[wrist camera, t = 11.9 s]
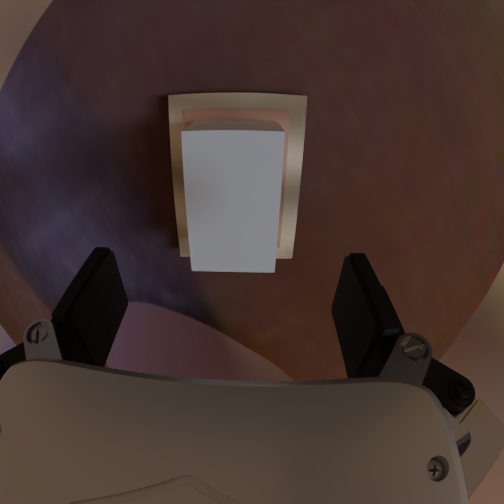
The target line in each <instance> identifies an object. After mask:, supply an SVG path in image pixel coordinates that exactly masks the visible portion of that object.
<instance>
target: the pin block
mask: <svg viewBox="0 0 504 504" xmlns="http://www.w3.org/2000/svg"><path fill="white" fill-rule="evenodd" d="M168 101H169V129H170V148H171V164H172V177H173V189H174V201H175V211H176V221H177V230H178V239H179V247H180V255H181V256H183V257H190V248H189V238H188V227H187V216H186V203H185V190H184V175H183V157H182V136H181V131H182V130H184V129H185V128H186V127H188V126H189V125H190V124H192V123H193V122H195V121H271V122H278V123H279V124H280V125H281V127H282V128H283V130H284V131H285V141H284V157H283V172H282V186H281V200H280V213H279V226H278V238H277V250H276V258H287V259H292V254H293V246H294V238H295V229H296V220H297V210H298V201H299V191H300V181H301V170H302V159H303V147H304V135H305V121H306V107H307V96H304V95H292V94H277V93H254V92H213V93H190V94H175V95H168Z"/></svg>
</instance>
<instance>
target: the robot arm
mask: <svg viewBox="0 0 504 504" xmlns="http://www.w3.org/2000/svg"><path fill="white" fill-rule="evenodd" d="M127 306H128V299H127V295H126V292H125V289H124V286H123V283H122V279H121V276H120V273H119V269H118V266H117V262H116V259H115V255H114V252H113V251H110V249H109V248H108V247H96V248H95V249H94V250H93V251H92V253H91V254H90V256H89V257H88V258H87V260H86V261H85V263H84V264H83V266H82V267H81V269H80V270H79V272H78V273H77V275H76V276H75V278H74V279H73V281H72V282H71V284H70V285H69V287H68V288H67V290H66V292H65V293H64V295H63V296H62V298H61V300H60V301H59V303H58V305H57V306H56V308H55V310H54V311H53V313H52V317H53V318H52V320H51V321H49V320H47V319H39V320H36V321H34V322H32V323H31V324H30V325H29V326H28V327H27V328H26V330H25V332H24V335H23V341H24V342H23V343H21V344H19V345H17V346H16V347H14V348H12V349H10V350H8V351H6V352H4V353H3V354H1V355H0V504H468V499H469V497H470V496H471V495H472V494H473V492H474V491H475V490H476V488H477V487H478V486H479V484H480V483H481V482H482V480H483V479H484V477H485V476H486V475H487V473H488V472H489V470H490V468H491V467H492V466H493V464H494V463H495V461H496V460H497V458H498V457H499V455H500V453H501V452H502V450H503V448H504V424H503V423H502V421H501V420H500V419H499V418H498V417H497V416H496V415H495V414H494V413H493V412H492V411H491V410H490V409H489V407H488V406H487V405H485V403H484V402H483V401H482V400H481V399H478V400H476V399H475V390H474V387H473V385H472V383H471V382H470V381H469V380H468V379H467V378H466V377H464V376H462V375H461V374H459V373H457V372H455V371H454V370H452V369H450V368H449V367H447V366H445V365H444V364H442V363H440V362H439V361H437V360H435V359H433V358H432V347H431V345H430V343H429V342H428V341H427V340H426V339H425V338H424V337H422V336H421V335H419V334H416V333H405V332H404V329H403V327H402V325H401V323H400V320H399V318H398V316H397V314H396V312H395V309H394V307H393V305H392V303H391V301H390V299H389V297H388V295H387V292H386V290H385V289H384V287H383V286H382V285H380V283H379V281H378V279H377V277H376V275H375V273H374V271H373V269H372V267H371V265H370V263H369V261H368V259H367V257H366V255H365V254H364V253H350V255H349V257H347V256H346V257H345V259H344V263H343V267H342V270H341V274H340V278H339V282H338V286H337V289H336V293H335V297H334V300H333V304H332V315H333V319H334V323H335V327H336V331H337V335H338V339H339V343H340V347H341V351H342V355H343V359H344V363H345V368H346V372H347V376H348V378H346V379H330V380H307V381H230V380H210V379H194V378H182V377H172V376H163V375H154V374H146V373H138V372H131V371H124V370H118V369H112V368H106V367H104V366H105V363H106V360H107V357H108V355H109V352H110V350H111V347H112V344H113V342H114V339H115V336H116V334H117V331H118V329H119V326H120V324H121V321H122V319H123V316H124V314H125V311H126V309H127Z"/></svg>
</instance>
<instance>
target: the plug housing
mask: <svg viewBox="0 0 504 504" xmlns="http://www.w3.org/2000/svg"><path fill="white" fill-rule="evenodd" d="M181 136H182V157H183V175H184V190H185V203H186V216H187V227H188V238H189V248H190V257H191V266H192V271H220V272H275V262H276V250H277V238H278V226H279V213H280V200H281V186H282V172H283V157H284V141H285V131H284V130H283V128H282V127H281V125H280V124H279V123H278V122H271V121H195V122H193V123H192V124H190V125H189V126H188V127H186V128H185V129H184V130H182V131H181Z"/></svg>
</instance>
